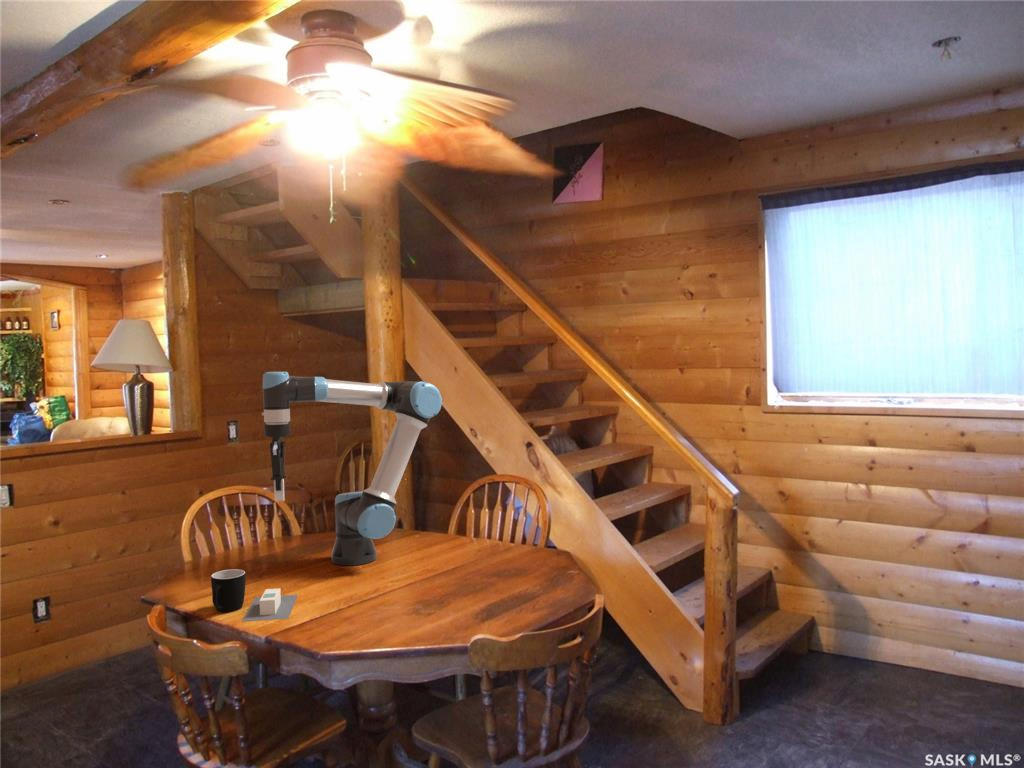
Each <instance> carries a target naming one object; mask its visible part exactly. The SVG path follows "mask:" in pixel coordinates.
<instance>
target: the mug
mask: <svg viewBox="0 0 1024 768" xmlns="http://www.w3.org/2000/svg"><path fill="white" fill-rule="evenodd" d="M210 581H211V582H210V584H211V594H212V595H211V596H212V597H211V598H212V599H211V600H212V602H211V603H212V604H213V606H214V607H215V610H216V611H217V612H218V613H232V612H233V613H234V612H237V611H239V610H241V609H242V608H243V606H244V601H245V594H246V571H245V570H243V569H239V568H238V569H237V568H235V569H224V570H220V571H216V572H214V573H212V574H211V575H210Z"/></svg>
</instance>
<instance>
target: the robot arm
mask: <svg viewBox="0 0 1024 768" xmlns="http://www.w3.org/2000/svg"><path fill="white" fill-rule="evenodd" d="M261 388H262V396H263V398H262V400H263V412H261V416H264V417H263V421H264V423H265V424H264V425H263V431H264V433H263V435H264V436H265V437H266V438H271V442H270V443H269V448H270V449H269V452H270V459H271V460H270V461H271V471H272V477H271V478H270V480H271V481H273V493H274V495H273V496H274V502H285V480H284V479H287V475H286V473H285V471H286V469H285V468H286V467H285V462H286V461H285V460H286V459H285V458H286V457H285V456H286V453H285V452H286V451H285V450H286V442H285V441H284V437H285V438H286V437H289V436H290V435H291V423H289V422H291V407H290V403H303V402H320V403H322V402H323V403H333V404H334V403H335V404H349V405H359V406H370V407H376V409H378V410H383V411H384V410H385V411H388V412H389V411H390V412H393V413H394V416H395V418H396V422H395V424H394V426H393V430H392V432H391V434H390V437H389V439H388V441H387V444H386V447H385V449H384V450H383V451H384V452H383V454H382V457H381V459H380V461H379V464H378V466H377V469H376V470H375V473H374V476H373V479H372V481H371V484H370V486H369V487H368V488H366V489H364V490H362V491H353V492H352V491H351V492H344V493H339V494H337V495H336V496H335V499H334V500H335V501H334V509H335V510H334V514H335V515H334V517H335V518H334V519H335V541H334V544H333V548H332V551H331V554H330V556H331V557H330V558H331V560H330V561H331V562H332V563H333V564H335V565H339V566H357V565H358V566H359V565H360V566H361V565H365V564H369V563H372V562H374V561H376V560H377V558H378V557H377V549H376V546H375V544H374V541H373V540H379V539H382V538H385V537H386V536H388V535H389V534H390V533H391V532H392V531H393V529H394V527H395V525H396V521H397V516H396V513H395V508H396V506H397V501H396V498H395V497H396V494H397V490H398V488H399V485H400V483H401V480H402V479H403V475H404V473H405V470H406V468H407V466H408V463H409V461H410V457H411V455H412V453H413V450H414V448H415V446H416V444H417V443H416V442H417V441H418V438H419V435H420V433H421V431H422V430H423V429H425V428H427V427H428V425H429V422H430V420H431V418H434V417H435V416H437V415H438V414H439V412H440V411H441V408H442V404H443V399H442V397H443V396H442V395H441V392H440V390H439V389H438V388H437V387H436V385H434V384H432V383H429V382H426V381H410V380H405V381H404V380H403V381H401V380H400V381H379V382H378V383H370V382H369V383H368V382H359V381H347V380H337V379H327V378H325V377H324V376H296V375H289V372H288V371H267V372H264V373H263V375H262V387H261Z"/></svg>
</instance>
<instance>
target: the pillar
mask: <svg viewBox="0 0 1024 768" xmlns="http://www.w3.org/2000/svg"><path fill="white" fill-rule="evenodd" d="M281 591H282V590H281V588H266V589H265V590H264V592H263V593H262V595H261V596H260V597H261V599H260V615H274V614H276V612H277V610H278V607H279V605H280V603H281V596H282V595H281V594H282V593H281Z"/></svg>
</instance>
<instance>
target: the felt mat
mask: <svg viewBox="0 0 1024 768" xmlns="http://www.w3.org/2000/svg"><path fill="white" fill-rule="evenodd" d="M298 596H299V594H289V595H287V594H285V595H281V603H280V605H279V607H278V610H277V612H276V614H274V615H260V599H261V597H262V596H256V597H254V600H253V601H252V603H251V604H250V606H249V608H248V610H247V612H246V613H245V615H244V616H243V619H242V620H241V622H243V623H244V622H257V621H272V620H273V621H274V620H288V619H289V618H290V615H291V614H292V610H293V609H294V606H295V603H296V601H297V599H298Z"/></svg>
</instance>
